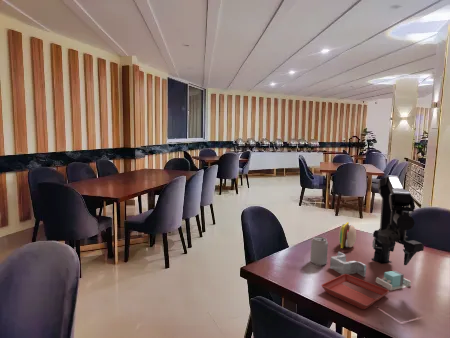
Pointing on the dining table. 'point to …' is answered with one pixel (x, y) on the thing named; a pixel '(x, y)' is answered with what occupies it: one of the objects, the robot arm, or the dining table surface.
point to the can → (319, 250)
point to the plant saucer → (353, 291)
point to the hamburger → (347, 235)
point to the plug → (394, 278)
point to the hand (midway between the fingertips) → (395, 260)
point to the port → (347, 265)
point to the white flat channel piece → (385, 284)
